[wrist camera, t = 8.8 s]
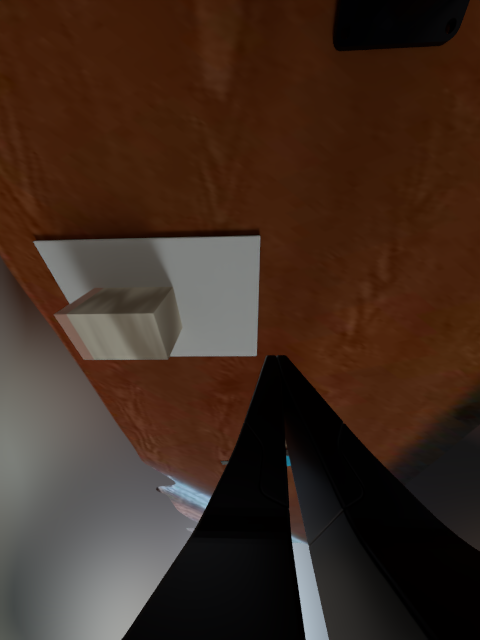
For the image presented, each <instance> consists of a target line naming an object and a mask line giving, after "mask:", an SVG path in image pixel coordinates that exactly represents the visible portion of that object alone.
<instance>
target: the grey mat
mask: <svg viewBox="0 0 480 640" xmlns="http://www.w3.org/2000/svg"><path fill="white" fill-rule="evenodd" d="M33 242H34V244H35V246H36V247H37V249H38V251H39V252H40V254H41V256H42V258H43V259H44V261H45V263H46V264H47V266H48V268H49V269H50V271H51V273H52V275H53V276H54V278H55V280H56V281H57V283H58V285H59V287H60V288H61V290H62V292H63V293H64V295H65V297H66V298H67V300H68V302H69V304H71V303H72V302H74V301H75V300H77V299H78V298H80V297H81V296H83V295H85V294H86V293H88V292H89V291H91V290H92V289H94V288H127V287H173V289H174V293H175V297H176V302H177V306H178V310H179V314H180V318H181V323H182V327H183V328H182V330H181V332H180V334H179V337H178V339H177V341H176V343H175V345H174V348H173V350H172V352H171V354H170V356H257V327H258V294H259V261H260V235H252V236H210V237H168V238H125V239H83V240H41V241H33Z"/></svg>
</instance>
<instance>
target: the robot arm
mask: <svg viewBox="0 0 480 640" xmlns="http://www.w3.org/2000/svg"><path fill="white" fill-rule="evenodd" d="M469 1H470V0H339V3H338V9H337V16H336V23H335V30H334V36H333V44H334V47H335V49H336V50H338V51H352V50H371V49H390V48H409V47H428V46H441V45H443V44H445V43H446V42H448V41H449V40H450V39H451V38H453V37H454V36H455V34H456V33H457V32H458V30H459V28H460V26H461V23H462V20H463V17H464V15H465V12H466V9H467V6H468V4H469ZM447 23H448V24H449V25H450V30H449V32H448V34H447V33H446V32H445V28H446V25H447ZM343 29H345V30H346V31H347V39H345V40H344V39H342V38H341V30H343ZM285 441H286V442H285ZM286 445H287V450H288V454H289V459H290V463H291V468H292V473H293V477H294V482H295V486H296V491H297V495H298V500H299V504H300V509H301V514H302V518H303V523H304V527H305V532H306V536H307V541H308V545H309V550H310V554H311V559H312V564H313V569H314V573H315V577H316V582H317V586H318V591H319V596H320V600H321V605H322V609H323V614H324V618H325V623H326V627H327V632H328V637H329V640H480V551H478V550H477V549H475V548H474V547H472V546H471V545H470V544H468V543H467V542H466V541H464V540H463V539H461V538H460V537H458V535H456V534H455V533H454V532H453V531H451V530H450V529H449V528H448V527H447V526H445V525H444V524H443V523H442V522H441V521H440V520H438V519H437V518H436V517H435V516H434V515H433V514H432V513H431V512H430V511H429V510H428V509H427V508H426V507H425V506H424V505H423V504H422V503H421V502H420V501H419V500H418V499H417V498H416V497H415V496H414V495H413V494H412V493H411V492H410V491H409V490H408V489H407V488H406V487H405V486H404V485H403V484H402V483H401V482H400V481H399V480H398V479H397V478H396V477H395V476H394V475H393V474H392V473H391V472H390V471H389V470H388V469H387V468H386V467H385V466H384V465H383V464H382V463H381V462H380V461H379V460H378V459H377V458H376V457H375V456H374V455H373V454H372V453H371V452H370V451H369V450H368V449H367V448H366V447H365V446H364V445H363V444H362V442H361V441H360V440H359V439H358V438H357V437H356V436H355V435H354V434H353V432H352V431H351V430H350V429H349V428H348V427H347V425H346V424H343V421H342V420H341V419H340V417H339V416H338V415H337V414H336V413H335V412H334V411H333V409H332V408H331V407H330V406H329V405H328V404H327V402H326V401H325V400H324V399H323V398H322V397H321V395H320V394H319V393H318V392H317V391H316V390H315V389H314V387H313V386H312V385H311V384H310V383H309V382H308V380H307V379H306V378H305V377H304V376H303V375H302V373H301V372H300V371H299V370H298V369H297V368H296V367H295V365H294V364H293V363H292V362H291V361H290V360H289V358H288V357H287V356H285V355H277V356H275V355H267V356H266V359H265V362H264V365H263V368H262V370H261V373H260V376H259V379H258V382H257V385H256V388H255V391H254V394H253V397H252V400H251V403H250V406H249V409H248V412H247V415H246V418H245V421H244V423H243V426H242V429H241V432H240V435H239V438H238V440H237V443H236V446H235V448H234V450H233V453H232V455H231V457H230V459H229V462H228V464H227V466H226V468H225V470H224V472H223V474H222V476H221V478H220V480H219V482H218V484H217V487H216V489H215V491H214V493H213V495H212V497H211V499H210V501H209V503H208V505H207V507H206V509H205V511H204V513H203V515H202V517H201V519H200V521H199V522H198V524H197V526H196V528H195V530H194V531H193V533H192V535H191V537H190V538H189V540H188V541H187V543H186V544H185V546H184V547H183V549H182V550H181V552H180V553H179V555H178V556H177V558H176V559H175V561H174V562H173V564H172V565H171V567H170V568H169V570H168V571H167V573H166V574H165V576H164V578H163V579H162V580H161V582H160V583H159V585H158V586H157V588H156V589H155V591H154V592H153V594H152V595H151V597H150V598H149V600H148V601H147V603H146V604H145V606H144V607H143V609H142V610H141V612H140V613H139V615H138V616H137V618H136V619H135V621H134V622H133V624H132V625H131V627H130V628H129V630H128V631H127V633H126V634H125V636H124V637H123V638H122V640H306V639H305V632H304V625H303V619H302V612H301V604H300V597H299V590H298V583H297V576H296V568H295V561H294V554H293V547H292V538H291V527H290V513H289V495H288V478H287V460H286Z"/></svg>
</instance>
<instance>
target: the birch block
mask: <svg viewBox="0 0 480 640" xmlns="http://www.w3.org/2000/svg"><path fill="white" fill-rule="evenodd" d="M54 316H55V317H56V319H57V320H58V322H59V323H60V325H61V326H62V328H63V329H64V331H65V332H66V334H67V335H68V337H69V338H70V340H71V341H72V343H73V344H74V346H75V347H76V349H77V350H78V352H79V353H80V355H81V356H82V358H83V359H84V360H140V359H169V357H170V354H171V352H172V350H173V348H174V345H175V343H176V341H177V339H178V337H179V334H180V332H181V330H182V328H183V327H182V323H181V318H180V314H179V310H178V306H177V302H176V297H175V293H174V289H173V287H127V288H94V289H92V290H91V291H89V292H88V293H86V294H85V295H83V296H81V297H80V298H78V299H77V300H75V301H74V302H72V303H71V304H69V305H68V306H66V307H65V308H63V309H62V310H60V311H59V312H57V313H55V314H54Z"/></svg>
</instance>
